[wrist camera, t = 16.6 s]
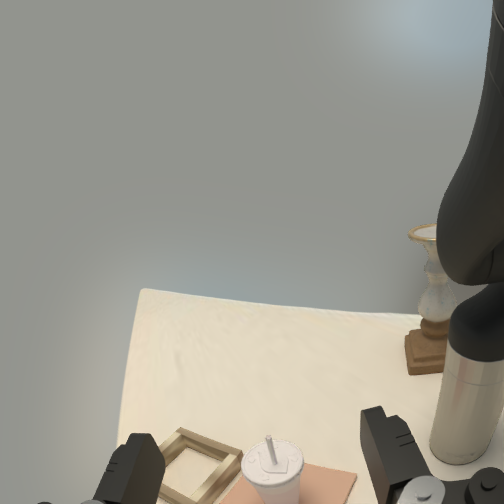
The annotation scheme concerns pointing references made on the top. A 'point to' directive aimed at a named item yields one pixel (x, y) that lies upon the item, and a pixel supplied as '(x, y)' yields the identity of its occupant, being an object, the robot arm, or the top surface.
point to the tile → (302, 487)
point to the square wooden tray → (230, 456)
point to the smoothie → (274, 470)
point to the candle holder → (430, 311)
